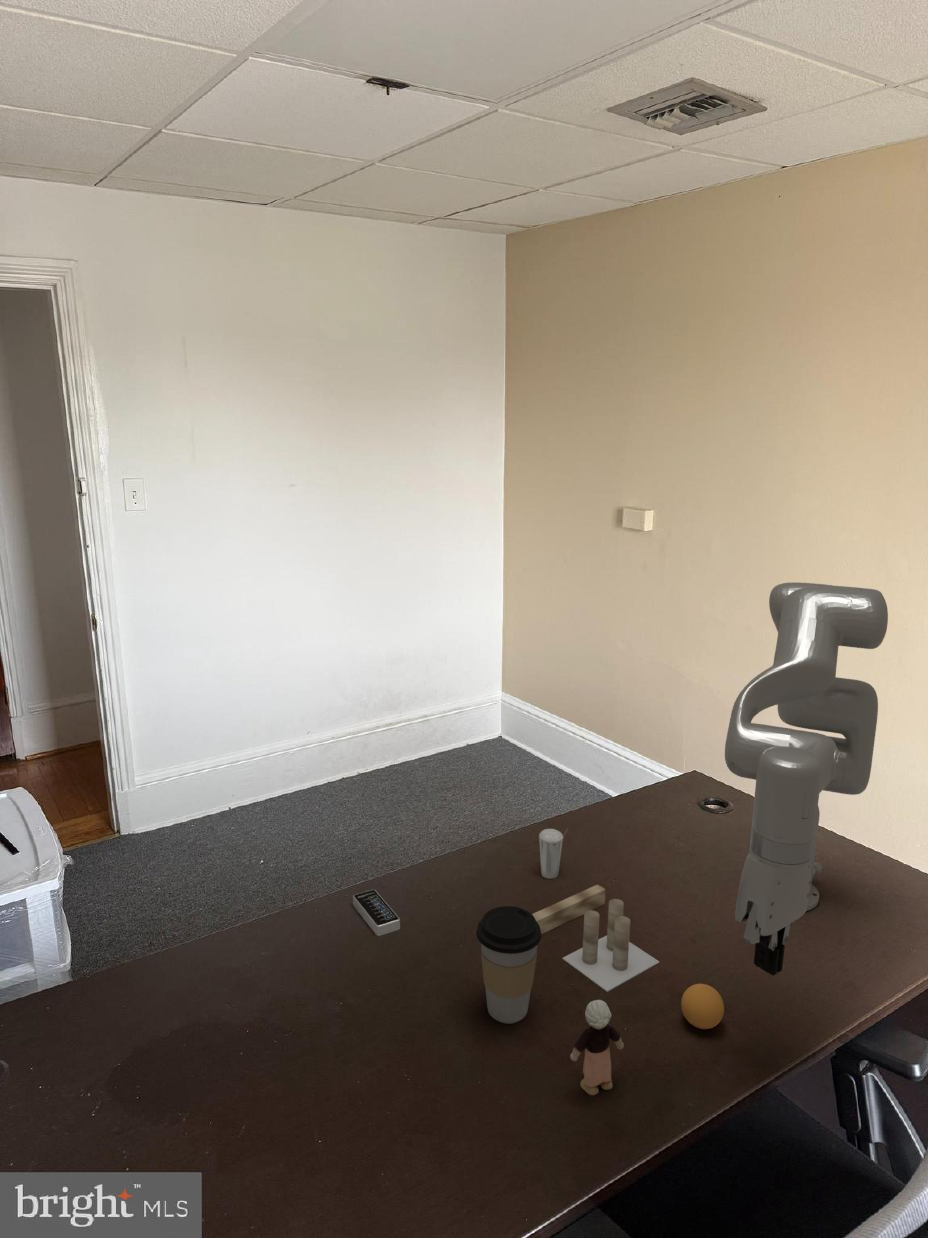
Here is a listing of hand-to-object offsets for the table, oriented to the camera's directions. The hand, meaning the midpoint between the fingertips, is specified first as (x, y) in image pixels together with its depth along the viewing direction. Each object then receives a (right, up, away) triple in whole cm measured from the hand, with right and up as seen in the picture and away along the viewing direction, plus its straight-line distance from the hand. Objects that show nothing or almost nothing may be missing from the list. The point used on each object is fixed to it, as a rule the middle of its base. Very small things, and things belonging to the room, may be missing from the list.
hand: (767, 967), depth 114 cm
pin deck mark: (-17, -9, +25) cm, 31 cm away
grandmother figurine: (-23, -16, 0) cm, 28 cm away
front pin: (-15, -9, +23) cm, 30 cm away
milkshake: (-24, -3, +50) cm, 56 cm away
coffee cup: (-34, -12, +14) cm, 39 cm away
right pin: (-16, -8, +28) cm, 33 cm away
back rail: (-24, -6, +35) cm, 43 cm away
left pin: (-20, -9, +25) cm, 33 cm away
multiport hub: (-56, -6, +37) cm, 67 cm away
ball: (-6, -10, +10) cm, 15 cm away
